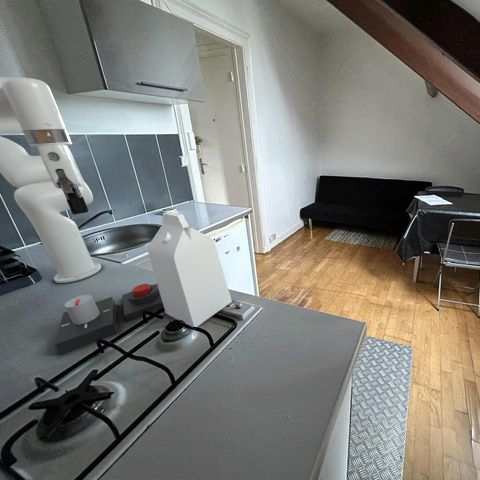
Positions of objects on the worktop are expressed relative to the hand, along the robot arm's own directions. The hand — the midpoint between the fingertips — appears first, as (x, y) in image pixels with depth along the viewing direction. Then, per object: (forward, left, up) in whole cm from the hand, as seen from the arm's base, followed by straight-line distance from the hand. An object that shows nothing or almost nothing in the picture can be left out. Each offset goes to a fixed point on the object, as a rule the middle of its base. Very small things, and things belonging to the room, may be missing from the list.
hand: (81, 212), depth 69 cm
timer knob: (+16, -5, -22) cm, 28 cm away
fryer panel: (+16, -5, -25) cm, 30 cm away
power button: (+13, +7, -22) cm, 26 cm away
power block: (+13, +7, -25) cm, 29 cm away
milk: (+26, +18, -25) cm, 40 cm away
